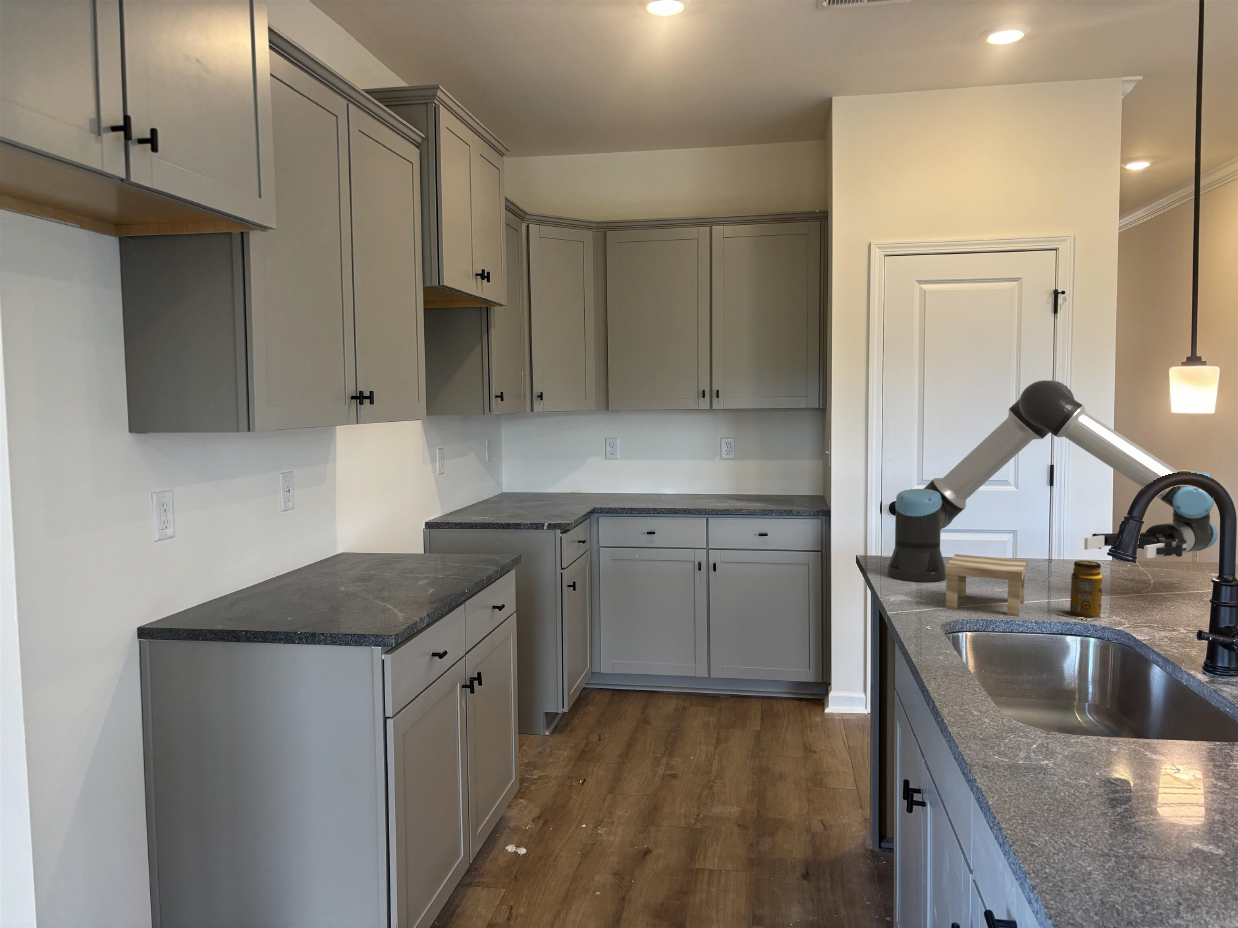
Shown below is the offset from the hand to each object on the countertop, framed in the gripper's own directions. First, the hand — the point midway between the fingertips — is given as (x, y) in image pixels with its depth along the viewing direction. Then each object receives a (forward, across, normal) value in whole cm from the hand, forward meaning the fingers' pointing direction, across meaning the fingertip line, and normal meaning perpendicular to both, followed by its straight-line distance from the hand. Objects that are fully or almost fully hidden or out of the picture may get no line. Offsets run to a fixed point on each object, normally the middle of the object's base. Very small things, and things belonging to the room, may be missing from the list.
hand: (1114, 547), depth 189 cm
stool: (+21, +18, -14) cm, 31 cm away
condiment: (+10, +1, -15) cm, 18 cm away
